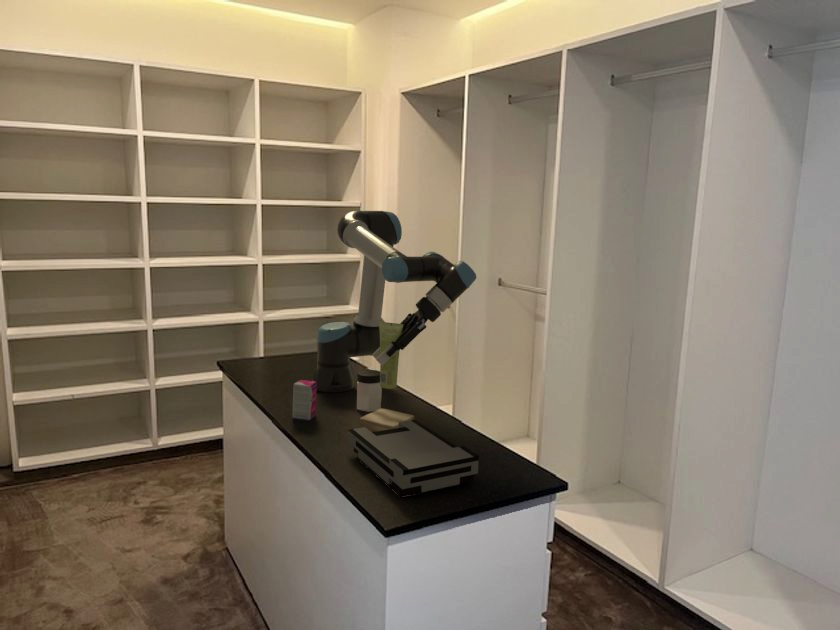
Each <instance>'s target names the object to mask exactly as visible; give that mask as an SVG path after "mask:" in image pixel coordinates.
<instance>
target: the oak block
mask: <svg viewBox="0 0 840 630" xmlns="http://www.w3.org/2000/svg"><path fill="white" fill-rule="evenodd" d="M358 420H359V421H358V428H363V427H365V428H367V429H368V430H369V431H371V432H376V431H382V430H388V429H395V428H399V422H403V421H409V420H415V415H413V414H409V413H406V412H405V413H404V412H400V411H396V410H391V409H388V408H383V407H381V408H380V409H378V410H376V411H371V412H369V413H367V414H365V415H364V416H361V417H360V418H358Z"/></svg>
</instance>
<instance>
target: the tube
mask: <svg viewBox="0 0 840 630" xmlns="http://www.w3.org/2000/svg"><path fill="white" fill-rule="evenodd" d="M402 329H403V324H400V323H395V322H386V321H385V322H380V321H379V331H380V354H381V353H382V352H383V351H384V350H385V349H386V348H387V347H388V346H389V345H390V344H391V342H392V341H394V342H395V341H396V340H397V339H398V337H399V336H400V335H401V334H402ZM400 352H401V349H400V350H398V351H397V352H396V353H395V354H394V355H393V356H392V357H391V358H390V359H389V360H388V361H387V362H386V363H385V364H384V365H383V366H382V365H381V364H380V363H379V365H380V366H379V367H380V370H379V371H380V387H381V389H389V390H392V389H396V388H397V385H398V374H399V373H398V371H399V359H400Z"/></svg>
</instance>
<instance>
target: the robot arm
mask: <svg viewBox="0 0 840 630" xmlns="http://www.w3.org/2000/svg"><path fill="white" fill-rule="evenodd" d="M336 229H337V230H336V231H337V236H338V238H339V239H340V241H341V242H342V243H343V244H344V245H345V246H347V247H348V248H350V249H355V250H357V251H358V252H360V253H361V254H362V255H363V265H362V272H361V273H362V274H361V282H360V283H361V284H360V293H359V302H358V303H359V304H358V314H357V315H356V316H355V317H353V323H352V325H351V323H349V322H347V321H334V322H329V323H325V324H323V325H321V326H320V327H319V328H318V330H317V337H316V340H317V345H316V346H317V351H316V353H317V363H316V365H317V366H316V368H315V372H314V375H313V378H312V380H311V381H315V382H317V388H316V391H318V392H323V393H342V392H343V393H344V392H347V391H351V390H353V389H354V387H355V380H354V377H353V374H352V370H351V367H350V358H359V357H366V356H367V357H368V356H373V358H374V359H375V361H377V363H378V364H379V365H380V364H381V365H382V366H383V365H384V364H385V363H386V362H387V361H388V360H389V359H390V358H391V357H392V356H393V355H394V354H395V353H396V352H397V351H398V350H400V351H403V350H405V349H406V347H407V346H408V345H409V344H410V343H412V342H413V340H414V339H415V338H416V337H418V336H419V335H420V334H421V332H423V331H424V330H426V329H427V325H426V323H427V321H428V320H429V322H431V323H434V322H435V321H436V320H438V319H439V318H440V317H441V315H442V313H445V311H446V310H447V309H448V310H449V309H450V308H451V305H452V304H453V303H454V302H455V301H457V300H458V298H459V297H460V296H461V295H463V293H465V291H466V290H468V289H470V287H471V285H472V284H474V282H475V281H476V280H477V273H476V272H475V271H474V269H473V268H472V267H471V266H470V265H469V264H468V263H466V262H465V261H463V260H460V261H459V260H458V262H457V263H455V264H454V263H452V262H451V261H450V260H449V259H447V258H445V257H444V256H443V255H441V254H439V253H437V252H435V251H428V252H426V253H424V254H423V255H422V256H407V255H406V254H404V253H403V252H401V251H399V250H398V249H397V248H395V247H394V246H396V245H398V244H399V243H400V241H401V239H402V235H403V231H402V225H401V221H400V219H399V217H398V216H397V215H396V214H395V213H394V212H392V211H387V210H386V211H383V210H359V209H358V210H352V211H349V212H347V213H346V214H344V215H343V216H341V218H340V220H339V222H338V224H337V228H336ZM386 282H387V283H397V284H399V283H409V282H410V283H412V282H415V283H416V282H435V283H436V284H434V285H433V286H432V287H431V289H429V290H428V291H427V292H426V293H425V296H422V298H420V299H419V300H418V301H417V303H415V307H416V308H417V309H418V310H417V311H415V312H414V313H408V314H407V316H405V318H404V319H403V320H402V321H401V322H400V323H399V324H403V329H402V334H401V335H400V336H399V337H398V339H397V340H396V341H395V342H394V341H392V342H391V344H390V345H389V346H388V347H387V348H386V349H385V350H384V351H383V352H382V353H381V354H380V331H379V321H380V322H386V321H385V320H384V319H383V318H382V313H383V304H384V297H385V287H386Z"/></svg>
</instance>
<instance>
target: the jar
mask: <svg viewBox="0 0 840 630" xmlns="http://www.w3.org/2000/svg"><path fill="white" fill-rule="evenodd" d="M356 381H357V382H356V410H359V411H362V412H367V413H372V412H374V411H376V410H378V409H380V408H382V393H383V392H382V391H383V390H382V389H383V388H382V387H380V370H376V369H362V370H359V371H357V379H356Z"/></svg>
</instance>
